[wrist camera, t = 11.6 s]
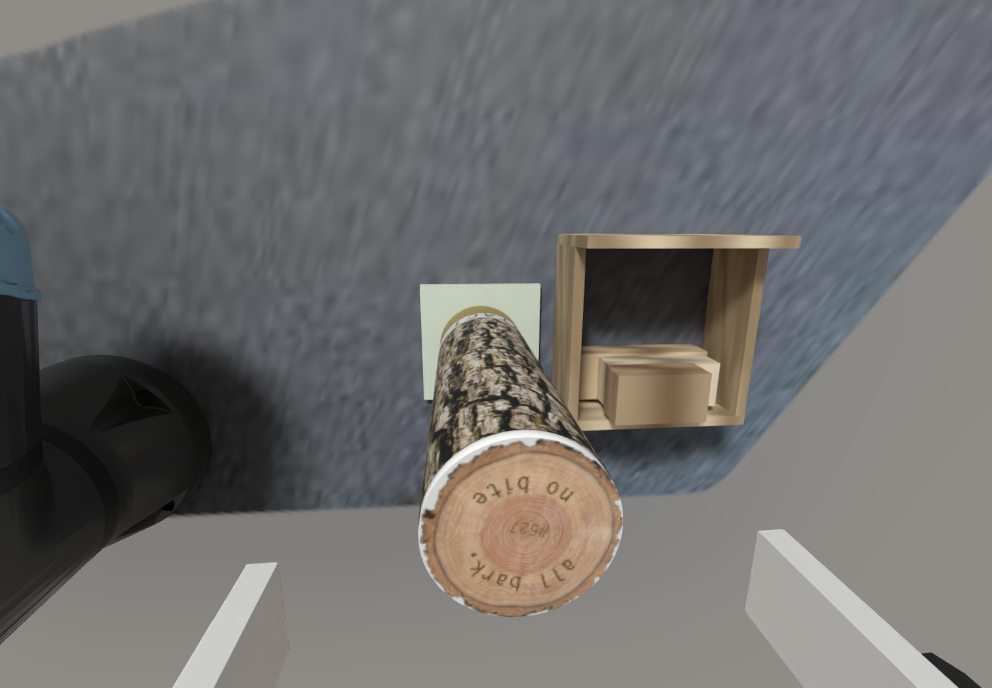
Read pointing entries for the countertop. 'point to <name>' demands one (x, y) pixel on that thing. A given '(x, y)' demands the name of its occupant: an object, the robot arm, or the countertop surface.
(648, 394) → the offcut stack
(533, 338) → the felt mat
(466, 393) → the wooden log
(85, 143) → the countertop surface
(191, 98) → the countertop surface
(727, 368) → the wooden open box
